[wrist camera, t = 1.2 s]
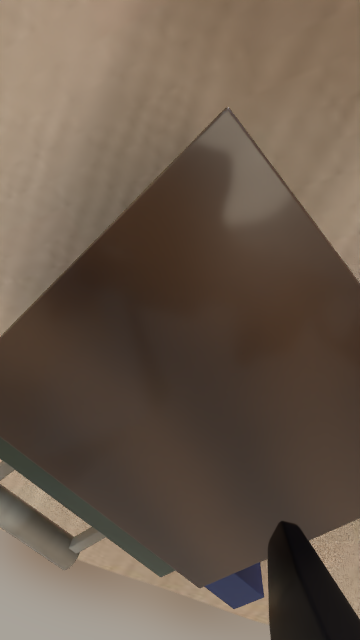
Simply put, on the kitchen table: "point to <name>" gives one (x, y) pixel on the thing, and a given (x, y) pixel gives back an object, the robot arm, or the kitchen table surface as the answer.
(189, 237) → the cabinet
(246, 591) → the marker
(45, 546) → the drawer
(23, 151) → the kitchen table surface
